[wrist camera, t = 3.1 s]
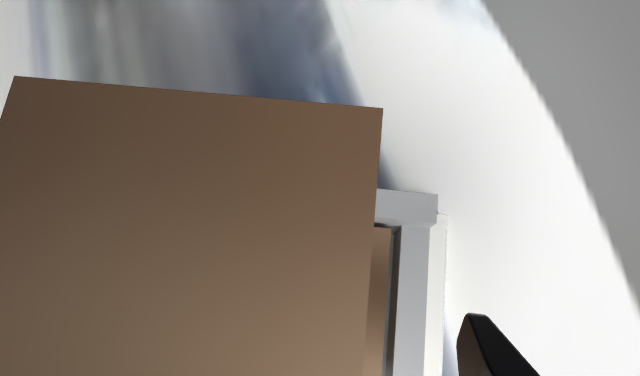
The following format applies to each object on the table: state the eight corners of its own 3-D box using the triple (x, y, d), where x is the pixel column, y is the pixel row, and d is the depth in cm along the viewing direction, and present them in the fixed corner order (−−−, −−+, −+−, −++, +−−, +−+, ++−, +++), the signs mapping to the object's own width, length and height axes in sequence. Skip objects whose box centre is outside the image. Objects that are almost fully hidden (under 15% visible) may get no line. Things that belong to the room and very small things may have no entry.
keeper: (375, 370, 16) (540, 635, 3) (190, 348, 16) (-300, 506, 4) (384, 236, 17) (529, 55, 5) (213, 219, 17) (-92, 6, 5)
